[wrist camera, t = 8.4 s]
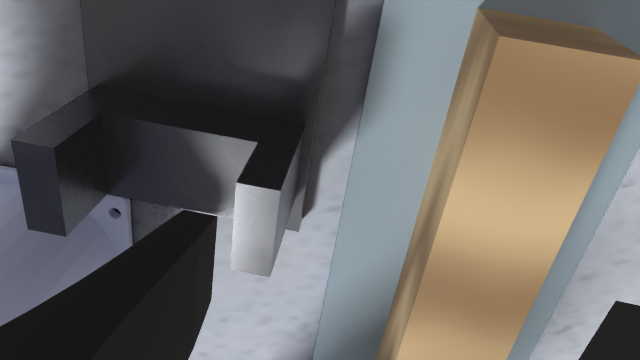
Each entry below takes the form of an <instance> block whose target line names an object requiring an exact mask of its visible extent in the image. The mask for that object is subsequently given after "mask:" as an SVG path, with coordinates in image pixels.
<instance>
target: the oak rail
mask: <svg viewBox="0 0 640 360" xmlns="http://www.w3.org/2000/svg"><path fill="white" fill-rule="evenodd" d="M639 84H640V55H638V54H637V53H635V52H634V51H632V50H630V49H629V48H627V47H626V46H624V45H623V44H621V43H620V42H618V41H616V40H615V39H613V38H612V37H610V36H609V35H607V34H606V33H604V32H602V31H601V30H599V29H598V28H595V27H589V26H583V25H577V24H571V23H565V22H559V21H553V20H547V19H542V18H536V17H530V16H524V15H518V14H512V13H506V12H500V11H495V10H489V9H483V8H477V11H476V15H475V18H474V22H473V25H472V29H471V32H470V36H469V39H468V42H467V46H466V49H465V53H464V56H463V60H462V63H461V67H460V70H459V74H458V77H457V81H456V84H455V87H454V91H453V94H452V98H451V101H450V105H449V108H448V112H447V115H446V119H445V122H444V126H443V129H442V132H441V136H440V139H439V143H438V146H437V150H436V153H435V157H434V160H433V164H432V167H431V171H430V174H429V177H428V181H427V184H426V188H425V191H424V195H423V198H422V202H421V205H420V209H419V212H418V215H417V219H416V222H415V226H414V229H413V233H412V236H411V240H410V243H409V247H408V250H407V254H406V257H405V260H404V264H403V267H402V271H401V274H400V278H399V281H398V285H397V288H396V292H395V295H394V299H393V302H392V305H391V309H390V312H389V316H388V319H387V323H386V326H385V330H384V333H383V337H382V340H381V344H380V347H379V350H378V354H377V357H376V360H506V359H507V357H508V355H509V353H510V351H511V349H512V347H513V344H514V342H515V340H516V338H517V336H518V334H519V332H520V330H521V328H522V326H523V324H524V322H525V320H526V318H527V315H528V313H529V311H530V309H531V307H532V305H533V303H534V301H535V299H536V297H537V295H538V293H539V291H540V289H541V286H542V284H543V282H544V280H545V278H546V276H547V274H548V272H549V270H550V268H551V266H552V264H553V262H554V260H555V257H556V255H557V253H558V251H559V249H560V247H561V245H562V243H563V241H564V239H565V237H566V235H567V233H568V231H569V228H570V226H571V224H572V222H573V220H574V218H575V216H576V214H577V212H578V210H579V208H580V206H581V204H582V202H583V199H584V197H585V195H586V193H587V191H588V189H589V187H590V185H591V183H592V181H593V179H594V177H595V175H596V173H597V170H598V168H599V166H600V164H601V162H602V160H603V158H604V156H605V154H606V152H607V150H608V148H609V146H610V144H611V141H612V139H613V137H614V135H615V133H616V131H617V129H618V127H619V125H620V123H621V121H622V119H623V117H624V115H625V113H626V110H627V108H628V106H629V104H630V102H631V100H632V98H633V96H634V94H635V92H636V90H637V88H638V86H639Z"/></svg>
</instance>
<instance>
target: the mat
mask: <svg viewBox="0 0 640 360" xmlns="http://www.w3.org/2000/svg"><path fill="white" fill-rule="evenodd" d="M477 8H483V9H489V10H495V11H500V12H506V13H512V14H518V15H524V16H530V17H536V18H542V19H547V20H553V21H559V22H565V23H571V24H577V25H583V26H589V27H595V28H598V29H599V30H601V31H602V32H604V33H606V34H607V35H609V36H610V37H612V38H613V39H615V40H616V41H618V42H620V43H621V44H623V45H624V46H626V47H627V48H629V49H630V50H632V51H634V52H635V53H637V54H638V55H640V0H384V4H383V9H382V14H381V19H380V24H379V29H378V34H377V39H376V44H375V49H374V54H373V59H372V64H371V69H370V74H369V79H368V84H367V89H366V94H365V99H364V104H363V109H362V114H361V119H360V124H359V129H358V134H357V139H356V144H355V149H354V154H353V159H352V164H351V169H350V174H349V179H348V184H347V189H346V194H345V199H344V204H343V209H342V214H341V219H340V224H339V229H338V234H337V239H336V244H335V249H334V254H333V259H332V264H331V269H330V274H329V279H328V284H327V289H326V294H325V299H324V304H323V309H322V314H321V319H320V324H319V329H318V334H317V339H316V344H315V349H314V354H313V359H312V360H376V357H377V354H378V350H379V347H380V344H381V340H382V337H383V333H384V330H385V326H386V323H387V319H388V316H389V312H390V309H391V305H392V302H393V299H394V295H395V292H396V288H397V285H398V281H399V278H400V274H401V271H402V267H403V264H404V260H405V257H406V254H407V250H408V247H409V243H410V240H411V236H412V233H413V229H414V226H415V222H416V219H417V215H418V212H419V209H420V205H421V202H422V198H423V195H424V191H425V188H426V184H427V181H428V177H429V174H430V171H431V167H432V164H433V160H434V157H435V153H436V150H437V146H438V143H439V139H440V136H441V132H442V129H443V126H444V122H445V119H446V115H447V112H448V108H449V105H450V101H451V98H452V94H453V91H454V87H455V84H456V81H457V77H458V74H459V70H460V67H461V63H462V60H463V56H464V53H465V49H466V46H467V42H468V39H469V36H470V32H471V29H472V25H473V22H474V18H475V15H476V11H477ZM639 147H640V84H639V86H638V88H637V90H636V92H635V94H634V96H633V98H632V100H631V102H630V104H629V106H628V108H627V110H626V113H625V115H624V117H623V119H622V121H621V123H620V125H619V127H618V129H617V131H616V133H615V135H614V137H613V139H612V141H611V144H610V146H609V148H608V150H607V152H606V154H605V156H604V158H603V160H602V162H601V164H600V166H599V168H598V170H597V173H596V175H595V177H594V179H593V181H592V183H591V185H590V187H589V189H588V191H587V193H586V195H585V197H584V199H583V202H582V204H581V206H580V208H579V210H578V212H577V214H576V216H575V218H574V220H573V222H572V224H571V226H570V228H569V231H568V233H567V235H566V237H565V239H564V241H563V243H562V245H561V247H560V249H559V251H558V253H557V255H556V257H555V260H554V262H553V264H552V266H551V268H550V270H549V272H548V274H547V276H546V278H545V280H544V282H543V284H542V286H541V289H540V291H539V293H538V295H537V297H536V299H535V301H534V303H533V305H532V307H531V309H530V311H529V313H528V315H527V318H526V320H525V322H524V324H523V326H522V328H521V330H520V332H519V334H518V336H517V338H516V340H515V342H514V344H513V347H512V349H511V351H510V353H509V355H508V357H507V359H506V360H528V359H529V357H530V355H531V353H532V352H533V350H534V348H535V346H536V344H537V342H538V340H539V338H540V336H541V334H542V332H543V330H544V329H545V327H546V325H547V323H548V321H549V319H550V317H551V315H552V313H553V311H554V309H555V307H556V306H557V304H558V302H559V300H560V298H561V296H562V294H563V292H564V290H565V288H566V286H567V284H568V283H569V281H570V279H571V277H572V275H573V273H574V271H575V269H576V267H577V265H578V263H579V261H580V260H581V258H582V256H583V254H584V252H585V250H586V248H587V246H588V244H589V242H590V240H591V238H592V237H593V235H594V233H595V231H596V229H597V227H598V225H599V223H600V221H601V219H602V217H603V215H604V214H605V212H606V210H607V208H608V206H609V204H610V202H611V200H612V198H613V196H614V194H615V192H616V191H617V189H618V187H619V185H620V183H621V181H622V179H623V177H624V175H625V173H626V171H627V170H628V168H629V166H630V164H631V162H632V160H633V158H634V156H635V154H636V152H637V150H638V148H639Z"/></svg>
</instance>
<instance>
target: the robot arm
mask: <svg viewBox="0 0 640 360" xmlns="http://www.w3.org/2000/svg"><path fill="white" fill-rule="evenodd" d="M114 208H116V209H118V210H119V211H120V213H118V212H116V211H115V210H114ZM216 228H217V216H214V215H209V214H204V213H200V212H195V211H190V210H185V209H184V210H183V211H181V212H180V213H178V214H177V215H175V216H174V217H172V218H171V219H169V220H168V221H166V222H165V223H164V224H162V225H161V226H159V227H158V228H156V229H155V230H154V231H152V232H151V233H149V234H148V235H147V236H145V237H144V238H142V239H141V240H139V241H138V242H137V243H135V244H134V245H133V243H132V226H131V209H130V199H128V198H123V197H117V196H112V195H106V196H105V197H104V198H103V199H102V200H101V201H100V202H99V204H98V205H97V206H96V207H95V208H94V209H93V210H92V211H91V212H90V213H89V214H88V215H87V216H86V217H85V218H84V219H83V220H82V221H81V222H80V223H79V224H78V225H77V226H76V227H75V229H74V230H73V231H72V232H71V233H70V234H69V235H68V236H67V237H64V236H59V235H54V234H49V233H44V232H39V231H33V230H28V228H27V223H26V218H25V212H24V207H23V202H22V196H21V191H20V186H19V180H18V175H17V170H16V169H15V168H10V167H5V166H0V360H188V358H189V356H190V354H191V352H192V350H193V348H194V345H195V343H196V340H197V337H198V335H199V332H200V329H201V327H202V324H203V321H204V318H205V315H206V313H207V310H208V307H209V304H210V301H211V294H212V281H213V268H214V255H215V242H216ZM579 360H640V306H638V305H634V304H629V303H624V302H619V301H615V303H614V305H613V306H612V308H611V309H610V311H609V312H608V314H607V316H606V317H605V319H604V320H603V322H602V324H601V325H600V327H599V328H598V330H597V331H596V333H595V335H594V336H593V338H592V339H591V341H590V342H589V344H588V346H587V347H586V349H585V350H584V352H583V353H582V355H581V357H580V358H579Z"/></svg>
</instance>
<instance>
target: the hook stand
mask: <svg viewBox="0 0 640 360" xmlns="http://www.w3.org/2000/svg"><path fill="white" fill-rule="evenodd" d="M80 5H81V15H82V26H83V36H84V47H85V57H86V68H87V78H88V89H89V90H88V91H87V92H85V93H83V94H82V95H80V96H79V97H77V98H76V99H74V100H72V101H71V102H69V103H68V104H66V105H65V106H63V107H61V108H60V109H58V110H57V111H55V112H54V113H52V114H50V115H49V116H47V117H46V118H44V119H43V120H41V121H39V122H38V123H36V124H35V125H33V126H32V127H30V128H28V129H27V130H25V131H24V132H22V133H21V134H19V135H18V136H16V137H14V138H13V139H11V143H12V148H13V154H14V159H15V164H16V170H17V175H18V180H19V186H20V191H21V196H22V202H23V207H24V212H25V218H26V223H27V228H28V230H33V231H39V232H44V233H49V234H54V235H59V236H64V237H67V236H68V235H69V234H70V233H71V232H72V231H73V230H74V229H75V227H76V226H77V225H78V224H79V223H80V222H81V221H82V220H83V219H84V218H85V217H86V216H87V215H88V214H89V213H90V212H91V211H92V210H93V209H94V208H95V207H96V206H97V205H98V204H99V202H100V201H101V200H102V199H103V198H104V197H105V196H106V195H112V196H117V197H123V198H128V199H133V200H138V201H143V202H148V203H154V204H159V205H164V206H169V207H174V208H179V209H185V210H190V211H195V212H200V213H205V214H210V215H216V216H221V217H226V218H231V219H233V233H232V248H231V263H230V269H231V270H236V271H241V272H246V273H251V274H256V275H261V276H267V277H270V275H271V272H272V269H273V266H274V263H275V260H276V257H277V254H278V251H279V248H280V244H281V241H282V238H283V235H284V232H285V229H288V230H293V231H298V232H299V228H300V225H301V221H302V216H303V209H304V203H305V196H306V190H307V183H308V177H309V170H310V164H311V157H312V151H313V144H314V137H315V131H316V124H317V118H318V111H319V105H320V98H321V92H322V85H323V79H324V72H325V65H326V59H327V52H328V46H329V39H330V33H331V26H332V20H333V13H334V7H335V0H80Z"/></svg>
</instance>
